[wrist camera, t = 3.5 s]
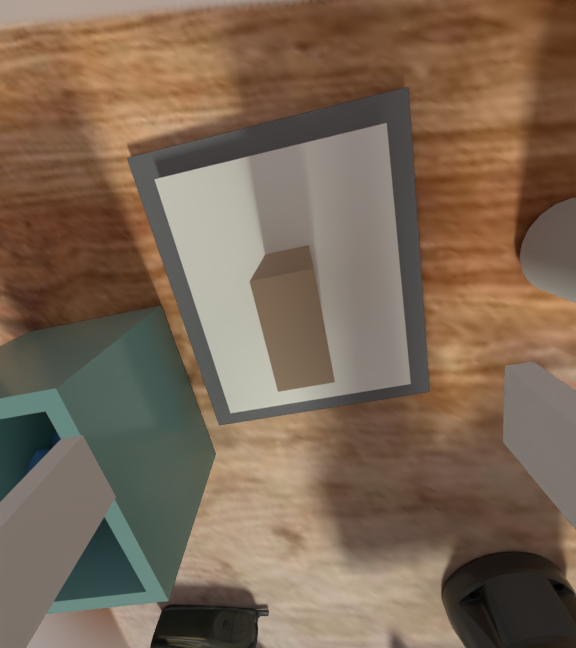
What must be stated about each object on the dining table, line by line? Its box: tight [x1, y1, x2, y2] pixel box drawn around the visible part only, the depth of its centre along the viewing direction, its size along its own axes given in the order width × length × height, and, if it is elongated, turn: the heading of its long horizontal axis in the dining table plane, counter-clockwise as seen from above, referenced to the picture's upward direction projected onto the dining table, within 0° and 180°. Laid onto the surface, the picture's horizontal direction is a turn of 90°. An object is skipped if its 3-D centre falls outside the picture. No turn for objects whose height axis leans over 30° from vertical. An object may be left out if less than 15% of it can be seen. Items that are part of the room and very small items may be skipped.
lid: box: [154, 123, 411, 413], centre depth 23 cm, size 17×21×10 cm
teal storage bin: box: [0, 305, 216, 614], centre depth 27 cm, size 13×17×14 cm
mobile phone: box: [151, 605, 269, 648], centre depth 44 cm, size 5×3×15 cm
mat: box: [127, 87, 430, 425], centre depth 29 cm, size 21×25×1 cm
